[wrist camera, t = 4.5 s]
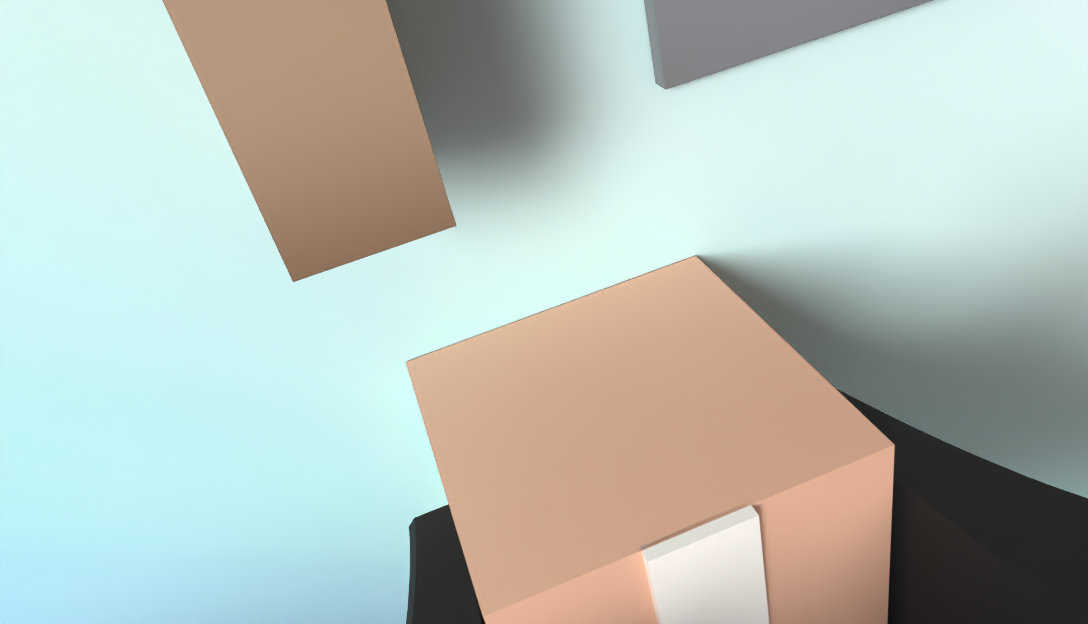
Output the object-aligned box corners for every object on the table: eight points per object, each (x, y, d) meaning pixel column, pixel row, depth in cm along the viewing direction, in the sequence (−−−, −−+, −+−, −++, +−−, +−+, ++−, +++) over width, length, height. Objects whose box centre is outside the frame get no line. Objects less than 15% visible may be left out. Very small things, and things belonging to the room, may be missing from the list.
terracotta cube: (722, 467, 15) (891, 695, 11) (486, 564, 14) (577, 842, 10) (695, 255, 12) (904, 454, 8) (405, 361, 11) (487, 629, 8)
